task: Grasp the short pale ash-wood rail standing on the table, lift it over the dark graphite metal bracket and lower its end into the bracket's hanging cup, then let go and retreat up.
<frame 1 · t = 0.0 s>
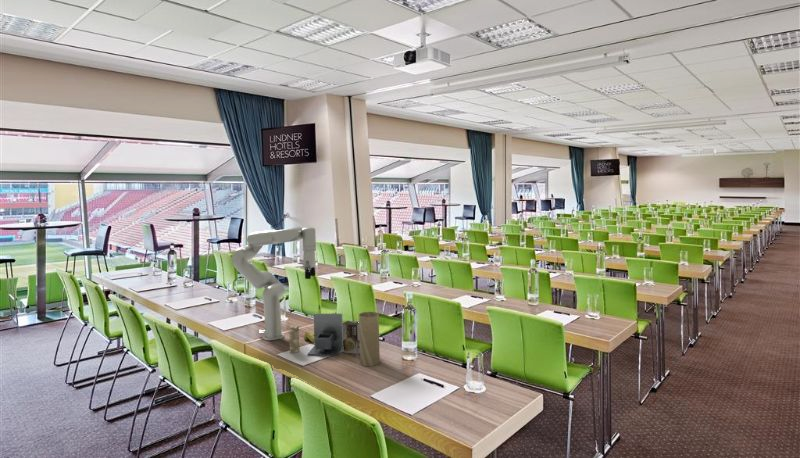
hand: (310, 277, 282), 37 cm above the table, tool pointing down, fingers open, 9 cm apart
plastic component: (322, 338, 285), on the table
coffee box: (352, 351, 261), on the table
tube: (369, 362, 244), on the table
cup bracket: (325, 352, 260), on the table
rail: (294, 351, 262), on the table
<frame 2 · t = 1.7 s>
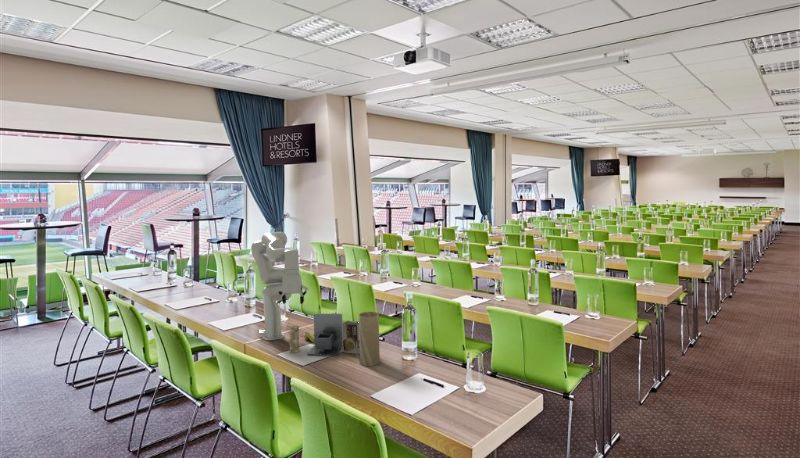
hand: (293, 303, 260), 27 cm above the table, tool pointing down, fingers open, 9 cm apart
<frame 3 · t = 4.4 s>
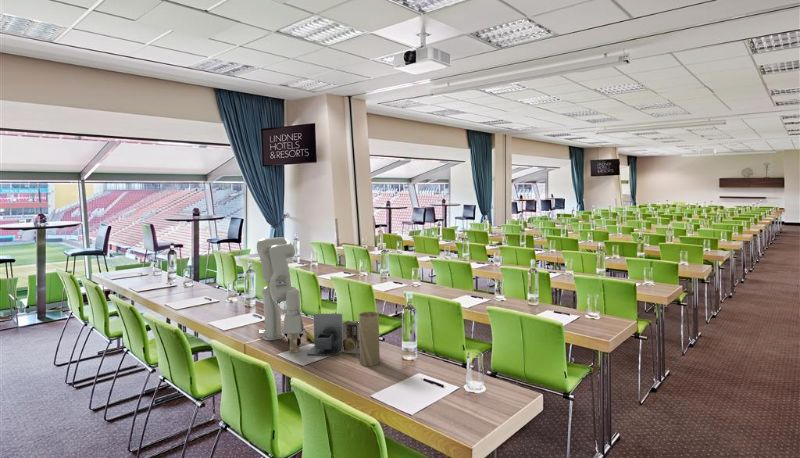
hand: (294, 344, 262), 4 cm above the table, tool pointing down, fingers closed on rail, 4 cm apart
rail: (294, 351, 262), on the table, touching gripper
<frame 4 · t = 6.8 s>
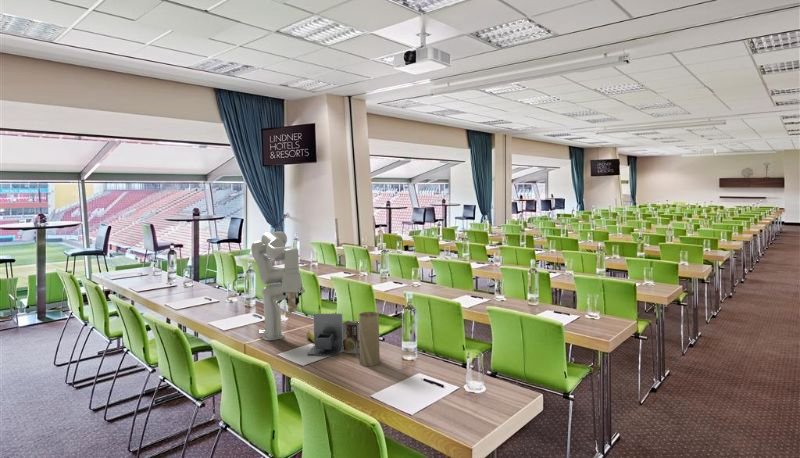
hand: (292, 304, 260), 26 cm above the table, tool pointing down, fingers closed on rail, 4 cm apart
rail: (293, 310, 260), point 23 cm above the table, touching gripper
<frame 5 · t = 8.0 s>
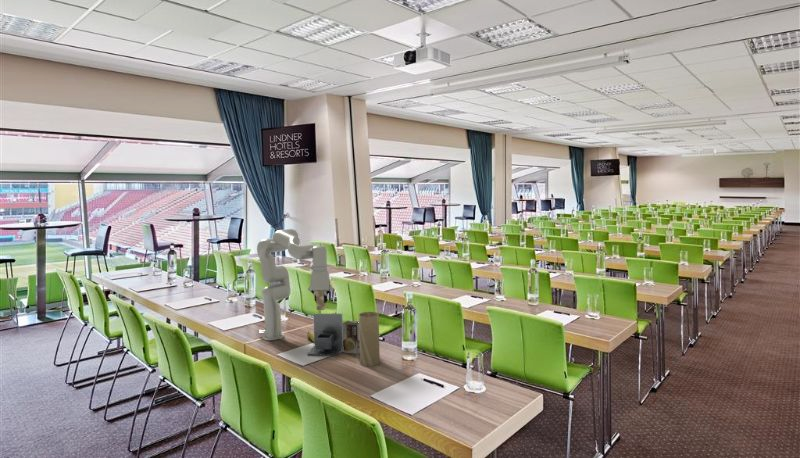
hand: (321, 302, 258), 28 cm above the table, tool pointing down, fingers closed on rail, 4 cm apart
rail: (321, 309, 258), point 24 cm above the table, touching gripper
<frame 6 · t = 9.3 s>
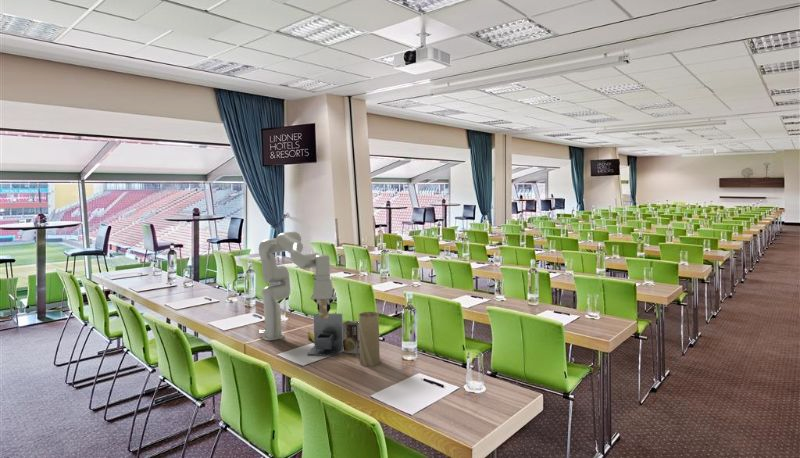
hand: (324, 310, 258), 23 cm above the table, tool pointing down, fingers closed on rail, 4 cm apart
rail: (324, 317, 258), point 19 cm above the table, touching gripper
when the fingers open (10 cm above the table, at t = 12.2 s): rail drops 2 cm, resting on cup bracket.
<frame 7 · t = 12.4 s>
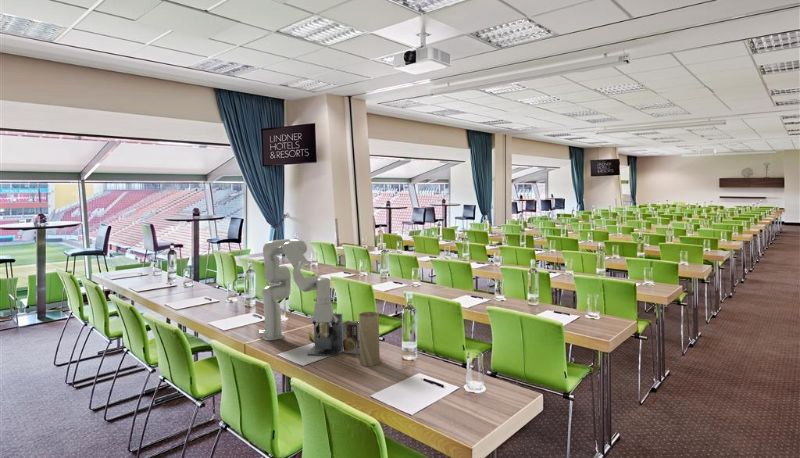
hand: (324, 333, 259), 11 cm above the table, tool pointing down, fingers open, 6 cm apart
rail: (324, 344, 260), point 4 cm above the table, touching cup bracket
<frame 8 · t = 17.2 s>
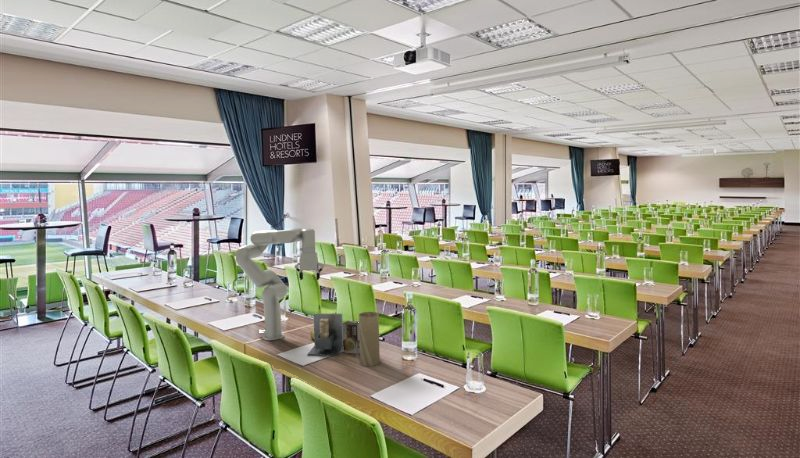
hand: (309, 279, 277), 36 cm above the table, tool pointing down, fingers open, 9 cm apart
at the end: rail 0.1 cm off-centre on the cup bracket, point 4.0 cm above the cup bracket's base; rail tilted 0°; the gripper is holding nothing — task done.
